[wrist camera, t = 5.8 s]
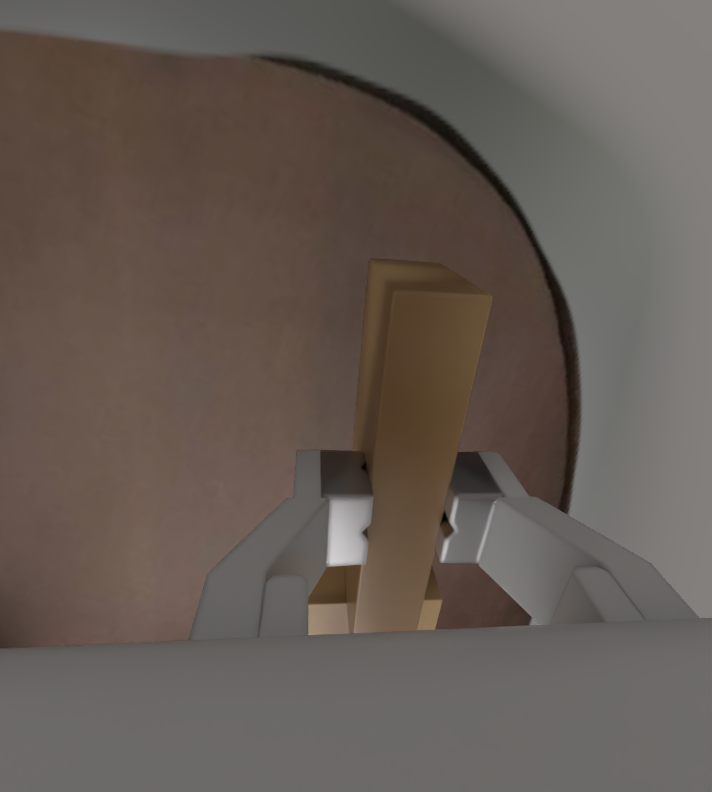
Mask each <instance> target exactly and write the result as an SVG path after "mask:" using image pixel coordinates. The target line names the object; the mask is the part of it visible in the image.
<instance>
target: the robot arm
mask: <svg viewBox="0 0 712 792" xmlns="http://www.w3.org/2000/svg"><path fill="white" fill-rule="evenodd" d="M365 467H366V459H365V454H364V452H363V451H340V450H321V451H319V450H297V453H296V466H295V481H294V496H293V498H286V499H285V500H284V501H283V502H282V503H281V504H280V505H279V506H278V507H277V508H276V509H275V510H274V511H273V512H272V513H270V514H269V515H268V516H267V517H266V518H265V519H264V520H263V521H262V522H261V523H260V524H259V525H258V526H257V527H256V528H255V529H254V530H253V531H252V532H251V533H250V534H248V535H247V536H246V537H245V538H244V539H243V540H242V541H241V542H240V543H239V544H238V545H237V546H236V547H235V548H234V549H233V550H232V551H231V552H230V553H229V554H228V555H226V556H225V557H224V558H223V559H222V560H221V561H220V562H219V563H218V564H217V565H216V566H215V567H214V568H213V569H212V570H211V571H210V572H209V573H208V574H207V576H206V580H205V583H204V587H203V591H202V594H201V598H200V601H199V605H198V608H197V612H196V615H195V619H194V623H193V626H192V630H191V633H190V637H189V640H185V641H162V642H139V643H116V644H93V645H69V646H46V647H23V648H0V792H712V618H699V617H698V616H697V615H696V613H695V612H694V611H693V610H692V609H691V608H690V607H689V606H688V605H687V603H686V602H685V601H684V600H683V599H682V598H681V597H680V595H679V594H678V593H677V592H676V591H675V590H674V589H673V588H672V586H671V585H670V584H669V583H668V582H667V581H666V580H665V578H663V576H662V575H661V574H660V573H659V572H658V571H657V569H656V568H655V567H654V566H653V565H652V564H651V563H650V562H648V561H646V560H644V559H643V558H641V557H639V556H638V555H636V554H634V553H632V552H631V551H629V550H627V549H625V548H624V547H622V546H620V545H619V544H617V543H615V542H613V541H612V540H610V539H608V538H607V537H605V536H603V535H601V534H600V533H598V532H596V531H594V530H593V529H591V528H589V527H587V526H586V525H584V524H582V523H581V522H579V521H577V520H575V519H574V518H572V517H570V516H569V515H567V514H565V513H563V512H562V511H560V510H558V509H556V508H555V507H553V506H551V505H550V504H548V503H546V502H544V501H543V500H541V499H539V498H537V497H529V495H528V494H527V492H526V491H525V489H524V488H523V487H522V485H521V484H520V482H519V481H518V479H517V478H516V477H515V475H514V474H513V472H512V471H511V469H510V468H509V467H508V465H507V464H506V462H505V461H504V459H503V458H502V456H501V455H500V454H499V453H498V452H496V451H474V452H458V453H457V457H456V461H455V466H454V470H453V475H452V479H451V483H449V487H448V492H447V496H446V500H445V505H444V514H443V518H442V523H441V524H440V527H439V532H438V536H437V541H436V546H435V549H436V552H437V555H438V558H439V561H440V563H479V564H478V565H479V566H480V567H481V568H482V569H483V570H484V571H485V572H486V573H487V574H488V575H489V576H490V577H491V578H492V579H493V580H494V581H495V582H497V583H498V584H499V585H500V586H501V587H502V588H503V589H504V590H505V591H506V592H507V593H508V594H509V595H510V596H511V597H512V598H513V599H514V600H515V601H516V602H517V603H518V604H519V605H520V606H521V607H522V608H523V609H524V610H525V611H526V612H527V613H528V614H529V615H530V616H531V617H532V618H534V619H535V620H536V621H537V622H538V623H539V624H540V625H533V626H532V625H531V626H508V627H485V628H462V629H439V630H416V631H392V632H369V633H346V634H323V635H308V597H309V596H310V594H311V592H312V591H313V589H314V588H315V586H316V584H317V583H318V581H319V579H320V578H321V576H322V575H323V573H324V571H325V570H326V567H330V566H349V565H366V559H367V551H368V543H369V539H368V532H367V527H368V526H369V525H370V524H371V518H372V508H373V499H374V496H373V490H372V484H371V482H370V480H369V474H368V473H367V472H366V471H365Z"/></svg>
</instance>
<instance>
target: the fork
mask: <svg viewBox="0 0 712 792" xmlns="http://www.w3.org/2000/svg"><path fill="white" fill-rule="evenodd" d="M492 300H493V299H492V296H491V295H489V294H488V293H486V292H485V291H483V290H481V289H480V288H478V287H477V286H475V285H474V284H472V283H470V282H469V281H467V280H466V279H464V278H462V277H461V276H459V275H458V274H456V273H455V272H453V271H451V270H450V269H448V268H447V267H445V266H443V265H442V264H440V263H433V262H418V261H403V260H388V259H370V260H369V263H368V275H367V286H366V298H365V309H364V321H363V332H362V344H361V355H360V367H359V378H358V390H357V401H356V413H355V424H354V436H353V447H352V451H363V452H364V454H365V459H366V467H365V471H366V472H367V473H368V474H369V480H370V482H371V484H372V490H373V496H374V499H373V508H372V518H371V524H370V525H369V526H368V527H367V532H368V539H369V543H368V551H367V559H366V565H349V566H330V567H326V570H325V571H324V573H323V575H322V576H321V578H320V579H319V581H318V583H317V584H316V586H315V588H314V589H313V591H312V592H311V594H310V596H309V597H308V635H323V634H346V633H369V632H392V631H416V630H435V627H436V623H437V619H438V616H439V612H440V608H441V604H442V600H443V599H442V595H441V592H440V589H439V586H438V583H437V579H436V576H435V573H434V570H433V566H432V562H433V558H434V553H435V546H436V541H437V536H438V532H439V527H440V524H441V523H442V518H443V514H444V505H445V500H446V496H447V492H448V487H449V483H451V479H452V475H453V470H454V466H455V461H456V457H457V453H458V448H459V444H460V440H461V435H462V431H463V427H464V422H465V418H466V413H467V409H468V405H469V400H470V396H471V392H472V387H473V383H474V379H475V374H476V370H477V365H478V361H479V357H480V352H481V348H482V344H483V339H484V335H485V331H486V326H487V322H488V317H489V313H490V309H491V304H492Z"/></svg>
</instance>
